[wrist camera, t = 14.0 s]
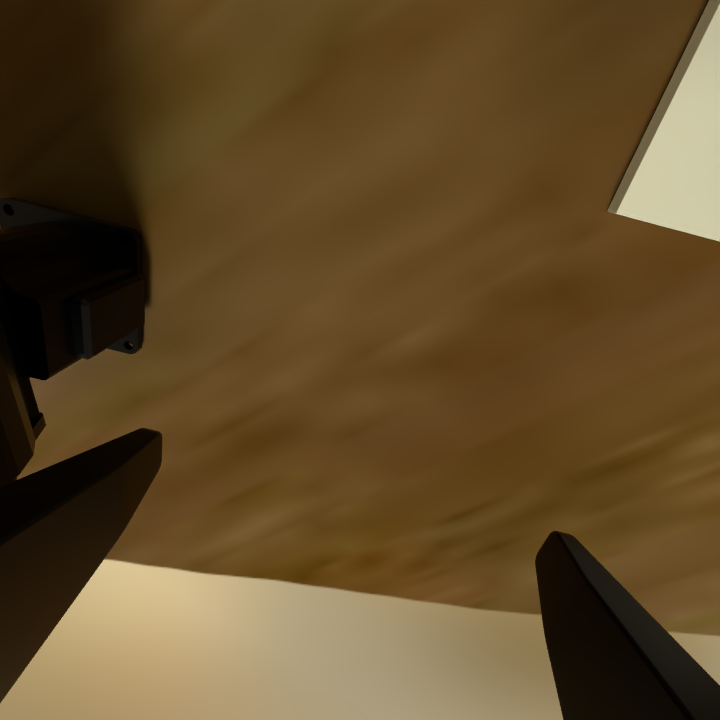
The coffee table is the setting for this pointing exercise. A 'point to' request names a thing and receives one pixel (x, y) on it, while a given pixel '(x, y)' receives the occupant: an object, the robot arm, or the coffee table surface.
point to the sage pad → (682, 144)
